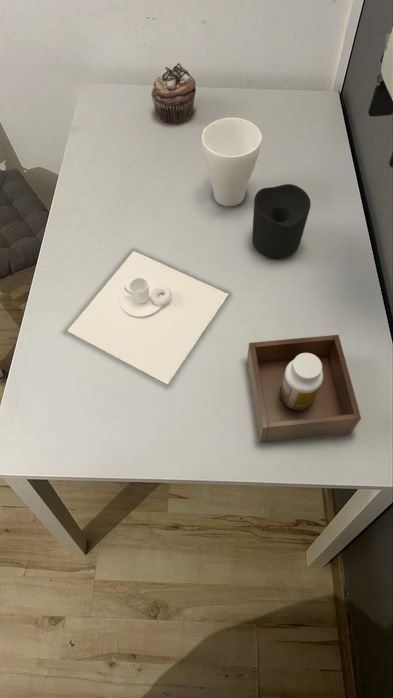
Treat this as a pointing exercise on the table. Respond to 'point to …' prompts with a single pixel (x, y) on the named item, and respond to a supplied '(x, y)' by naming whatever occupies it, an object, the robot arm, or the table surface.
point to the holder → (330, 402)
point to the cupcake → (174, 95)
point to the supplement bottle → (301, 381)
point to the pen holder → (279, 220)
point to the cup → (230, 157)
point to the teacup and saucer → (149, 316)
